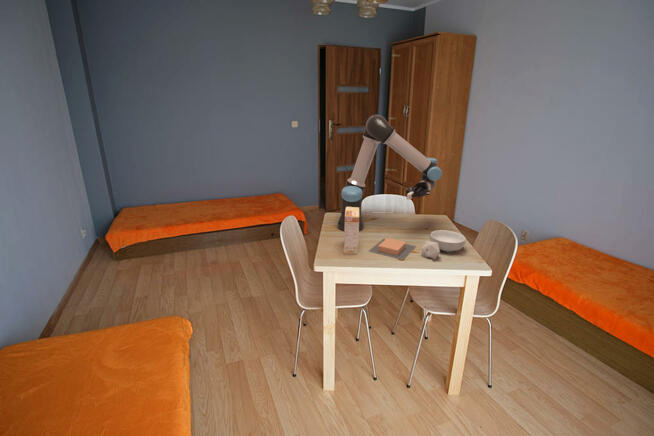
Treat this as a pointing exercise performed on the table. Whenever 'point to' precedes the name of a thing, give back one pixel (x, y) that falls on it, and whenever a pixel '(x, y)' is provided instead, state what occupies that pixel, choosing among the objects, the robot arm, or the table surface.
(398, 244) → the salmon orange block
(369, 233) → the table surface
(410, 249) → the mat
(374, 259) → the table surface
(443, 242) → the cereal bowl
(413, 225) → the table surface
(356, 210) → the coffeecake box
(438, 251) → the die
